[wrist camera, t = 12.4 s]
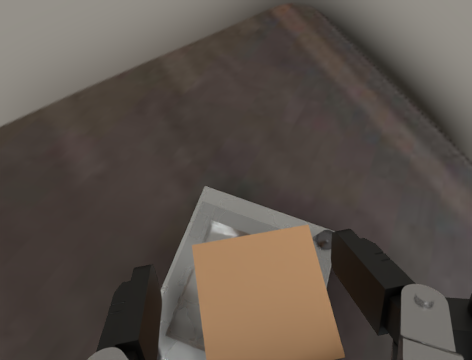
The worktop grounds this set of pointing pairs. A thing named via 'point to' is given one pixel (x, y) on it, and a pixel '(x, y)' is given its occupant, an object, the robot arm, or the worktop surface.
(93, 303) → the worktop surface
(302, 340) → the tan block
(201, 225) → the plate
